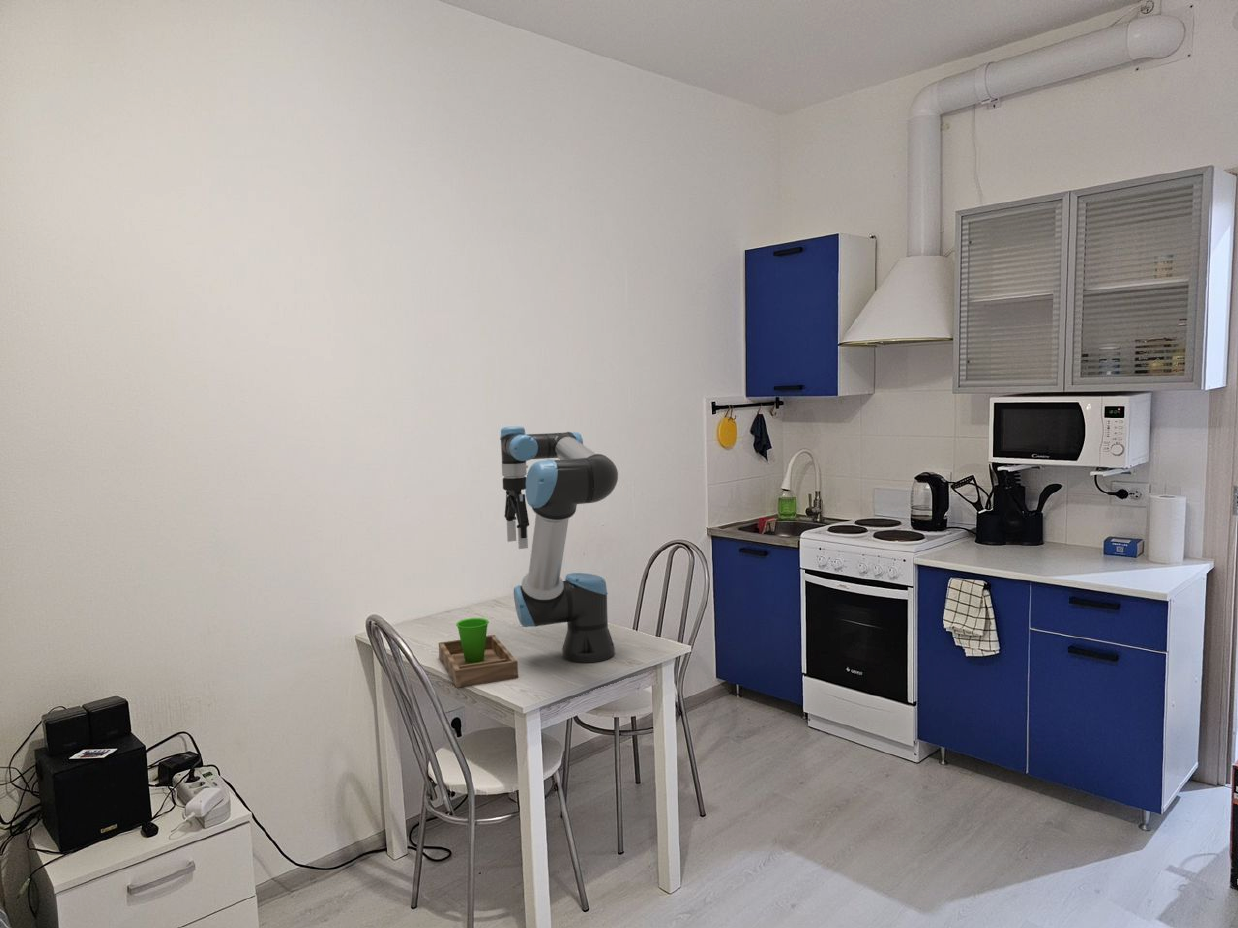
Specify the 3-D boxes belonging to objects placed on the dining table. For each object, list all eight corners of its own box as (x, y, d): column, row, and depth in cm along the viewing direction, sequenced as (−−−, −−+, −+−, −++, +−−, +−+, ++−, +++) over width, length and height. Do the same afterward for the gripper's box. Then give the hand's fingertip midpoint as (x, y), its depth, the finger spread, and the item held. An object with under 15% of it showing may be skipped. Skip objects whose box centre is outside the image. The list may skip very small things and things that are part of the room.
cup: (484, 666, 225) (482, 627, 224) (453, 665, 227) (451, 626, 226) (494, 655, 234) (493, 618, 233) (464, 654, 235) (462, 617, 234)
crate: (518, 677, 218) (517, 661, 217) (456, 687, 212) (455, 670, 211) (495, 649, 242) (494, 634, 242) (439, 657, 236) (438, 642, 236)
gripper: (537, 479, 241) (540, 550, 243) (516, 472, 264) (518, 537, 266) (513, 481, 238) (516, 552, 240) (493, 474, 261) (496, 539, 263)
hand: (517, 544), depth 253 cm, fingers open, 13 cm apart
